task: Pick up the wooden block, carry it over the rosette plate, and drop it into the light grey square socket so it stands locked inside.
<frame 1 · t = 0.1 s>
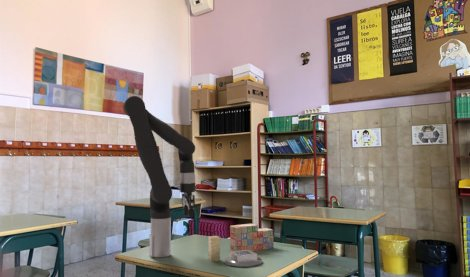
hand: (188, 216, 177), 17 cm above the table, tool pointing down, fingers open, 8 cm apart
wooden block: (214, 259, 162), on the table
stack of blocks: (252, 250, 182), on the table
rosette: (243, 262, 157), on the table
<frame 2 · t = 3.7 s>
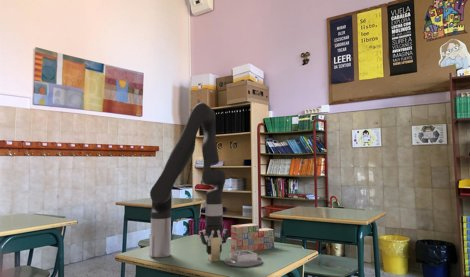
hand: (214, 253, 162), 3 cm above the table, tool pointing down, fingers closed on wooden block, 4 cm apart
wooden block: (214, 259, 162), on the table, touching gripper
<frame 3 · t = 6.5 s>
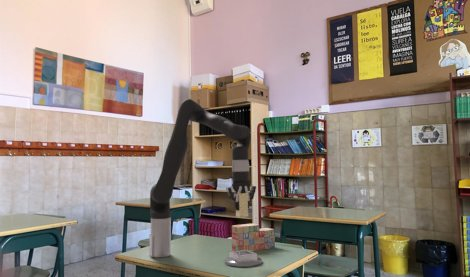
hand: (242, 209, 160), 22 cm above the table, tool pointing down, fingers closed on wooden block, 4 cm apart
wooden block: (242, 216, 160), point 19 cm above the table, touching gripper
when the fingers open (6 cm above the table, at t = 9.3 s): wooden block drops 2 cm, resting on rosette.
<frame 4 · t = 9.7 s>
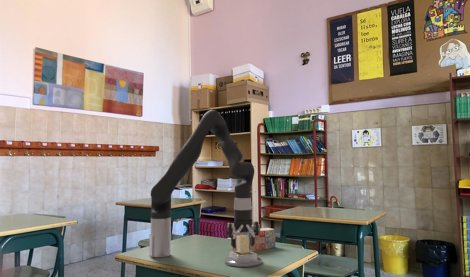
hand: (243, 246, 158), 7 cm above the table, tool pointing down, fingers open, 8 cm apart
wooden block: (242, 259, 158), point 1 cm above the table, touching rosette
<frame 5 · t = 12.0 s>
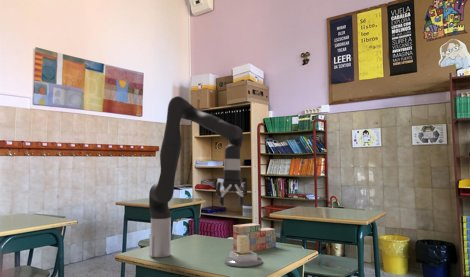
hand: (231, 205, 165), 23 cm above the table, tool pointing down, fingers open, 8 cm apart
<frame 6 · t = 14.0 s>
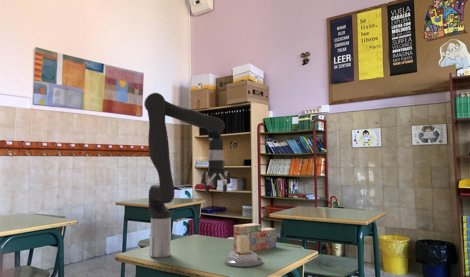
hand: (216, 192, 179), 28 cm above the table, tool pointing down, fingers open, 8 cm apart
at the end: wooden block 0.1 cm off-centre on the rosette, point 1.0 cm above the rosette's base; wooden block tilted 0°; the gripper is holding nothing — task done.
